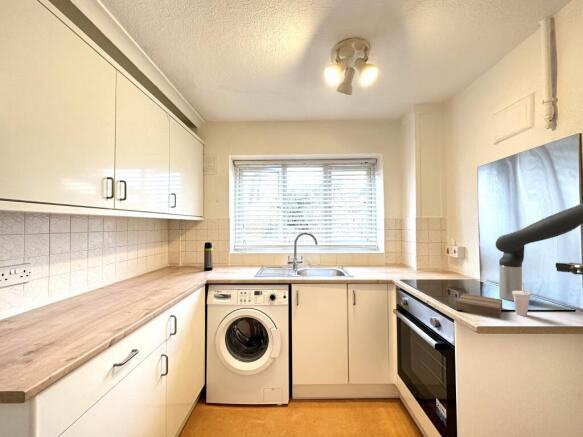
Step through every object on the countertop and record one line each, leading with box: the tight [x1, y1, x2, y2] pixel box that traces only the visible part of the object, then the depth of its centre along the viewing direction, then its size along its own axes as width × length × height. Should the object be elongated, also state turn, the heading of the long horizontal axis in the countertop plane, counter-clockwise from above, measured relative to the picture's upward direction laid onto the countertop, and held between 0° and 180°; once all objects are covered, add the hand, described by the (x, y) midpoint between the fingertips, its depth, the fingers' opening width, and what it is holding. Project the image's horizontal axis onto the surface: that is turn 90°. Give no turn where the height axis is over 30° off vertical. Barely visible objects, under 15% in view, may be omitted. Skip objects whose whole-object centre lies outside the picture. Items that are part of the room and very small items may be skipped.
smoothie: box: [512, 282, 532, 317], centre depth 123 cm, size 6×6×14 cm
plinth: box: [455, 293, 503, 319], centre depth 130 cm, size 16×16×4 cm
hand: (556, 266), depth 115 cm, fingers open, 8 cm apart
